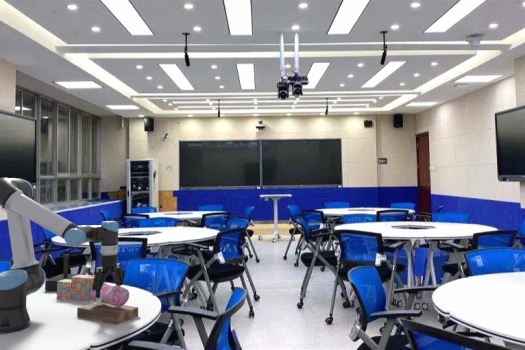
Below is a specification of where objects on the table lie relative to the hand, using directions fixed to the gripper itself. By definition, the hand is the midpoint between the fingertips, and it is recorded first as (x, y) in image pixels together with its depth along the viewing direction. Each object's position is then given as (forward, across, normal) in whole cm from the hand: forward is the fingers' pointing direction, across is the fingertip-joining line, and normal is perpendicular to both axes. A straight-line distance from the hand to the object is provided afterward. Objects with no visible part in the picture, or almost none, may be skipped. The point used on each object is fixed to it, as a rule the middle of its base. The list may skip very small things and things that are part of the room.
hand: (108, 302), depth 184 cm
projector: (+7, +30, +66) cm, 73 cm away
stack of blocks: (+7, +16, +39) cm, 43 cm away
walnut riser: (+7, 0, 0) cm, 7 cm away
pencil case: (+1, 0, 0) cm, 1 cm away
